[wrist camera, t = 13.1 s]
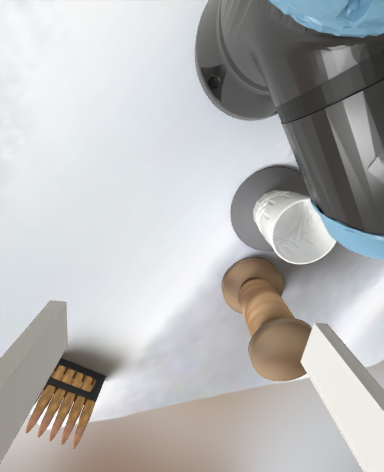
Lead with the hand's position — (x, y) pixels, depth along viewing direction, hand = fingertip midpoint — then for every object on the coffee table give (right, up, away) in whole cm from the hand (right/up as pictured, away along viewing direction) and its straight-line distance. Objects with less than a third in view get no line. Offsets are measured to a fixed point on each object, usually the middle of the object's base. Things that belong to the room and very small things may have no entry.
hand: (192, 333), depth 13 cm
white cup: (+12, +9, +24) cm, 29 cm away
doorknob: (+10, -3, +29) cm, 31 cm away
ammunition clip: (-22, -20, +34) cm, 45 cm away
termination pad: (+12, +9, +25) cm, 29 cm away
